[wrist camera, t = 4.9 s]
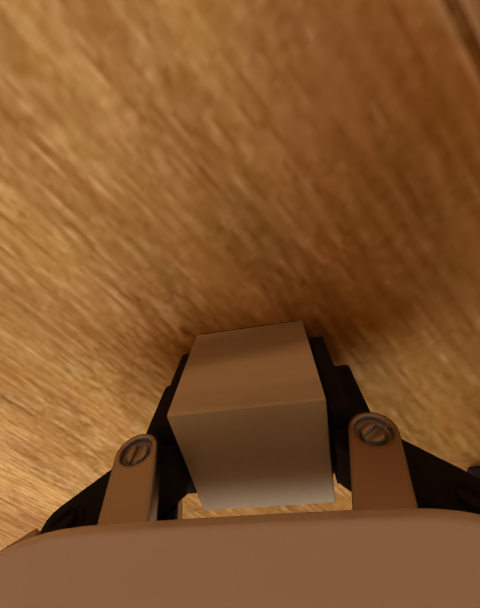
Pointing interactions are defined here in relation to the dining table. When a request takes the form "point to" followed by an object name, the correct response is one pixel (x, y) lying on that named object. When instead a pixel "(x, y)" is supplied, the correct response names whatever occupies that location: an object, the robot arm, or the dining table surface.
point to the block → (254, 419)
